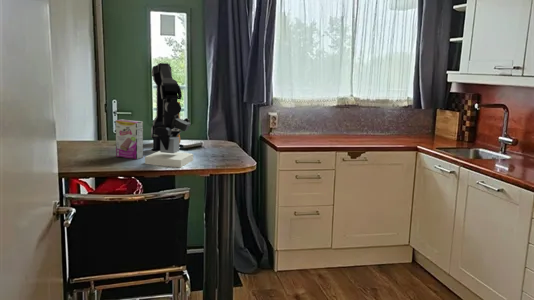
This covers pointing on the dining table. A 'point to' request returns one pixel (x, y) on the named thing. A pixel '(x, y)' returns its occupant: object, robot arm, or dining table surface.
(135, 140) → the candy bar box
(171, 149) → the grey cube
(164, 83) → the robot arm
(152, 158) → the base block
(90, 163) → the dining table surface
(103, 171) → the dining table surface
